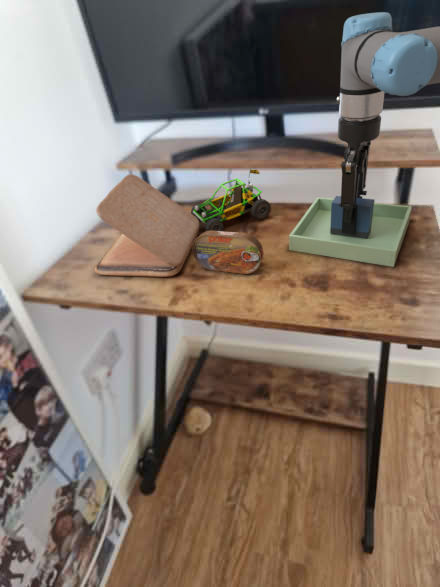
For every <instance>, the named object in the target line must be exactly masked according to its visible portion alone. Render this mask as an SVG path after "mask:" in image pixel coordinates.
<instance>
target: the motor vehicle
mask: <svg viewBox="0 0 440 587" xmlns="http://www.w3.org/2000/svg"><path fill="white" fill-rule="evenodd" d="M251 174H254V175H260V174H261V173H260V171H259V170H258V169H256V170H251V169H249V174H248V177H250V175H251ZM233 182H235V183H234V185H233V186H231V187H229V188H228V187H226V185H227V184H229V183H233ZM247 182H248V184H246V183H245V182H244V181H242V180H240V178H238V177H236V178H233V179H230V180H227V181H225V182H223V183H220V185H219V186H218V187H217V189H216V190H215V191H214V192H213V194H212V196H211V197H210V198H209V199H207V200H206V201H204V202H203V203H197V204H195V205H193V206H192V208H191V210H190V213H191V214H192V215H194V216H195V217H196V218H197V219H198V220H199V222H202V223H203V224H204V225H205V232H206V231H224V224H223V222H225V221H230V220H232V219H234V218H237V217H240V216H242V215H245V214H247V213H249V212H250V213H251V216H252V217H253V218H255V219H256V220H258V221H261V220H262V221H263V220H265V219H266V218H267V217H268V216H270V213H271V211H272V206H271V203H270V202H269V201H268V200H266V199H264V198H262V197H261V194H262V193H263V192H262V190H260V189H259V188H257V187H256V186H254V184H253V183H252V182H251V181H247ZM221 188H224V189H225V191H226V192H225V194H224V195H221V196H219V197H217V198H214V197H215V195H216V194H217V193H218V192H219V190H220V189H221ZM254 190H256V192H257V191H258V193H256V194H255V193H254ZM229 191H231V192H230V193H229ZM232 199H233V200H232ZM208 205H209V208H210V209H207V208H206V206H208Z"/></svg>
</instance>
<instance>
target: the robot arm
mask: <svg viewBox="0 0 440 587" xmlns="http://www.w3.org/2000/svg"><path fill="white" fill-rule="evenodd" d="M342 30H343V31H342V40H341V43H340V47H341V58H340V59H341V60H340V86H339V96H337V98H336V102H338V103H339V105H338V106H339V108H338V109H339V110H338V114H339V116H340V117H339V118H338V122H337V139H339V140H340V141H342V142H345V143H347V148H345V149H344V152H343V159H344V160H343V161H342V162H341V165H340V166H341V188H340V190H341V191H340V196H341V203H340V204H339V206H341V208H343V218H342V233H345V234H353V235H354V234H355V229H356V217H357V206H358V205H357V204H356V202H357V198H363V196H367V193H368V190H365V189H366V186H367V185H366V184H367V183H366V182H367V175H368V174H367V173H368V164H369V156H370V150H371V149H370V148H371V144H372V141H375V140H376V139H377V138H378V137H379V136H380V133H381V124H382V116H381V113H383V109H384V102H385V100H384V99H385V94H389V95H390V96H391V95H392V96H400V97H405V96H412V95H413V94H416V93H417V92H419V91H420V90H421V89H423V88H424V87H426V86H429V85H434V84H435V85H436V84H440V26H433V27H427V28H420V29H415V30H408V31H402V32H395V31H393V17H392V15H391V13H390V12H386V11H385V12H384V11H382V12H380V11H379V12H370V13H362V14H357V15H353V16H350V17H348V18H347V19H346V20H345V21H344V24H343V29H342Z"/></svg>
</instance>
